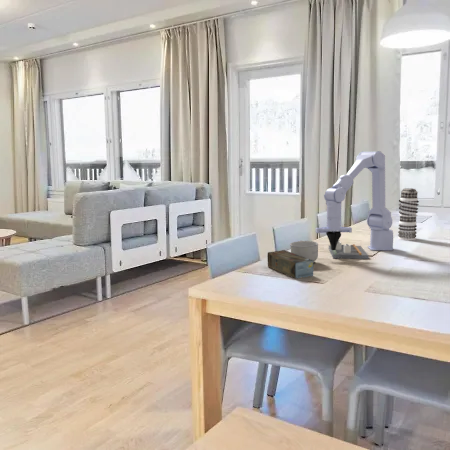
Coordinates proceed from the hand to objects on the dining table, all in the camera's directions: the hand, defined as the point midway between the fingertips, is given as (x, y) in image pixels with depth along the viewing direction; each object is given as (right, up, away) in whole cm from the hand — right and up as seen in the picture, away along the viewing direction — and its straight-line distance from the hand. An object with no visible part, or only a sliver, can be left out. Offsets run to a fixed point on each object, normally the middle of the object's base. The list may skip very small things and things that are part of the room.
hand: (333, 249), depth 191 cm
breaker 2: (+3, 0, +6) cm, 7 cm away
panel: (+7, -2, +6) cm, 10 cm away
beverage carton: (-21, -7, -23) cm, 32 cm away
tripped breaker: (+6, -1, -1) cm, 6 cm away
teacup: (-14, -5, -8) cm, 17 cm away
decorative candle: (+46, +3, +39) cm, 60 cm away
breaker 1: (+4, +1, +13) cm, 13 cm away
